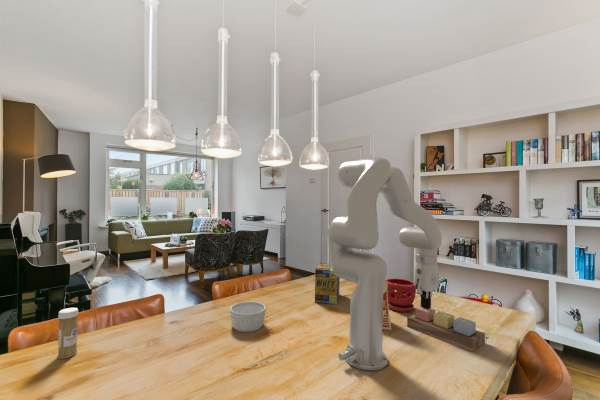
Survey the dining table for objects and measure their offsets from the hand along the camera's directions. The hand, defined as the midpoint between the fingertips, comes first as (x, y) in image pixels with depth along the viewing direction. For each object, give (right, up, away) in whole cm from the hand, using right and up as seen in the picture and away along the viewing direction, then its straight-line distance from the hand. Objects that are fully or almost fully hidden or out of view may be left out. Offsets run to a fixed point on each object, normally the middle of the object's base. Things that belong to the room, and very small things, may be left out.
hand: (425, 307), depth 110 cm
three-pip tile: (0, -4, 0) cm, 4 cm away
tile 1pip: (+8, -4, -11) cm, 15 cm away
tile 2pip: (+4, -4, -6) cm, 8 cm away
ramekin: (-67, -7, -1) cm, 68 cm away
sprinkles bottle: (-117, -6, -24) cm, 119 cm away
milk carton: (-17, -7, +2) cm, 19 cm away
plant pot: (-3, -8, +20) cm, 21 cm away
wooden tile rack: (+4, -7, -6) cm, 10 cm away
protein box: (-34, -7, +31) cm, 47 cm away
